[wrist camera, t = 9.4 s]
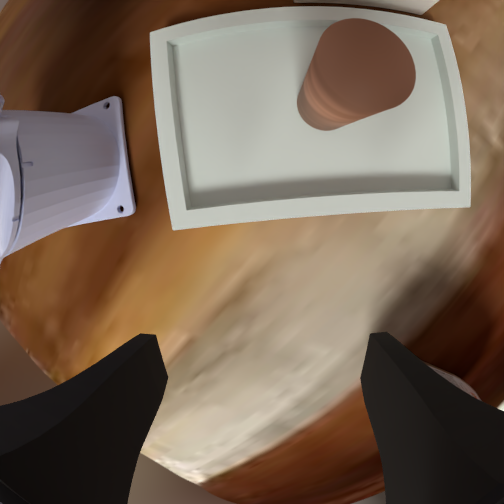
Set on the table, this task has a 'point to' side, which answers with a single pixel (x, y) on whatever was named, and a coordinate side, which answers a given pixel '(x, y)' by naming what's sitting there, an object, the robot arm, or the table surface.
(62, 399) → the robot arm
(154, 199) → the table surface
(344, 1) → the cup block
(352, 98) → the pin
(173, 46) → the tray
